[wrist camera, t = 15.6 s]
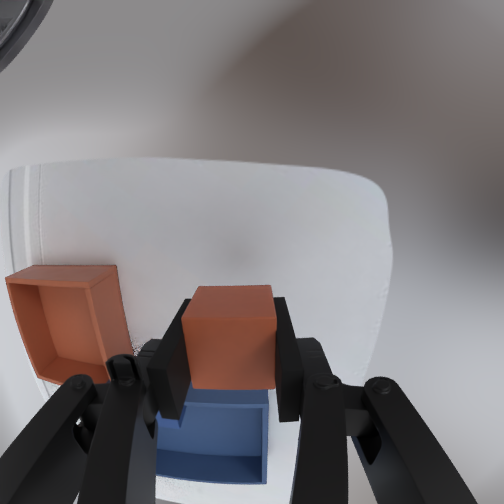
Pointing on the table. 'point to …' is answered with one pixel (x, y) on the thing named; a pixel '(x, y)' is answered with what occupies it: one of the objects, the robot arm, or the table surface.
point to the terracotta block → (231, 337)
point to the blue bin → (217, 438)
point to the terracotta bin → (69, 319)
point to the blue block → (168, 422)
